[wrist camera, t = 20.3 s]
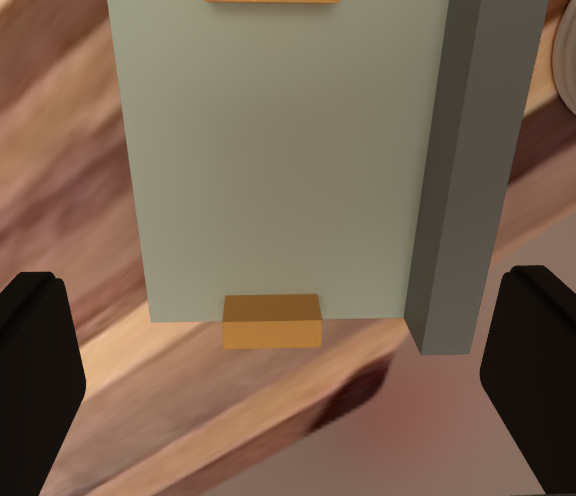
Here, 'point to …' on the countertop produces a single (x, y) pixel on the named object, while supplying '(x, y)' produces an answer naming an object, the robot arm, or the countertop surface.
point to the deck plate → (322, 158)
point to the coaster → (566, 57)
